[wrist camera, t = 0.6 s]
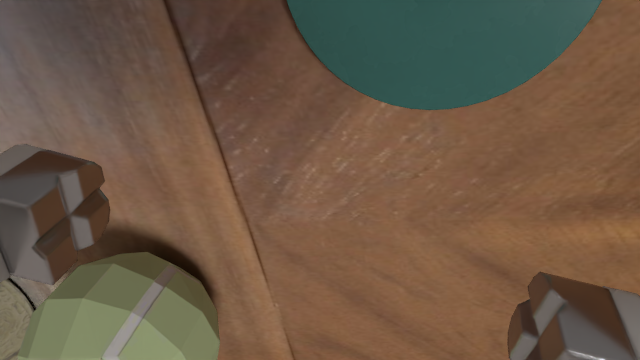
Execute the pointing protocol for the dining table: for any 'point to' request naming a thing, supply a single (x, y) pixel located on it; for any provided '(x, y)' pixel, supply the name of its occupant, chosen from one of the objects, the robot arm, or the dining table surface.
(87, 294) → the tennis ball
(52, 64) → the dining table surface
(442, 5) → the lid
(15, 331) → the sculpture
